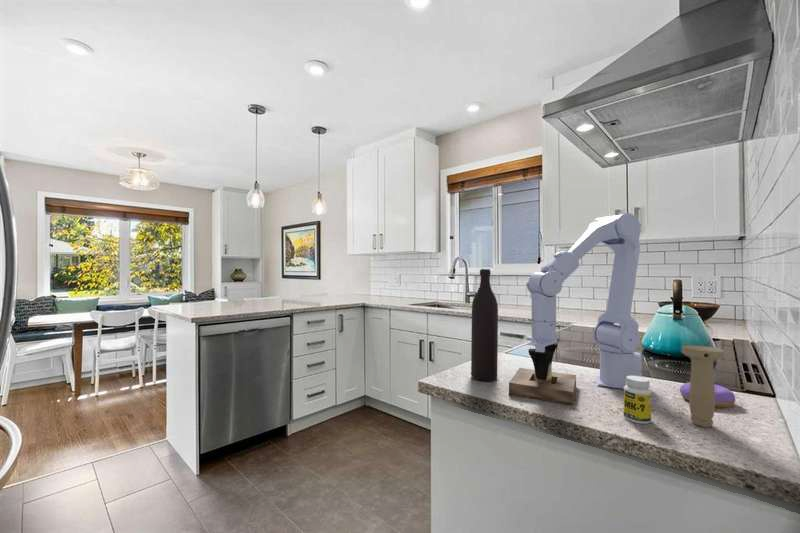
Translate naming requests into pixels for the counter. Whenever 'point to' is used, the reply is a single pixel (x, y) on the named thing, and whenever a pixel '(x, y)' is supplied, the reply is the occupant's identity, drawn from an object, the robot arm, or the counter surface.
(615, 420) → the counter surface
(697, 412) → the handle
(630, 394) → the supplement bottle
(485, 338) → the wine bottle
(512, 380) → the socket block
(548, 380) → the peg
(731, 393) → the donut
